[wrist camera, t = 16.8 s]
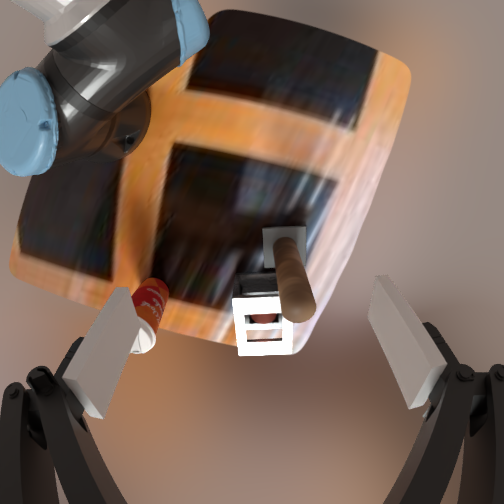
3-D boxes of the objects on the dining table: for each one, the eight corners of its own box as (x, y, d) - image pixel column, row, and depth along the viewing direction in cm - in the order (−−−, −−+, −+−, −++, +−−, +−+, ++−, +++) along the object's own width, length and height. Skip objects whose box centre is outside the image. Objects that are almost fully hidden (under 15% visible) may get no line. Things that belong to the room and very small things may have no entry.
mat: (264, 266, 50) (264, 268, 49) (262, 227, 47) (262, 228, 46) (305, 264, 50) (305, 265, 49) (305, 225, 47) (306, 226, 46)
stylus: (273, 260, 49) (281, 324, 33) (272, 237, 47) (280, 295, 32) (296, 258, 49) (315, 321, 33) (296, 236, 47) (317, 292, 31)
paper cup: (178, 306, 54) (159, 357, 41) (143, 307, 54) (117, 355, 41) (169, 270, 50) (143, 317, 38) (131, 273, 51) (99, 317, 38)
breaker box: (287, 324, 55) (291, 353, 48) (241, 326, 55) (239, 355, 48) (287, 270, 50) (292, 295, 43) (235, 272, 50) (232, 298, 43)
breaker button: (275, 313, 53) (276, 323, 50) (251, 314, 53) (251, 324, 50) (275, 293, 51) (276, 302, 48) (250, 294, 51) (249, 304, 48)
